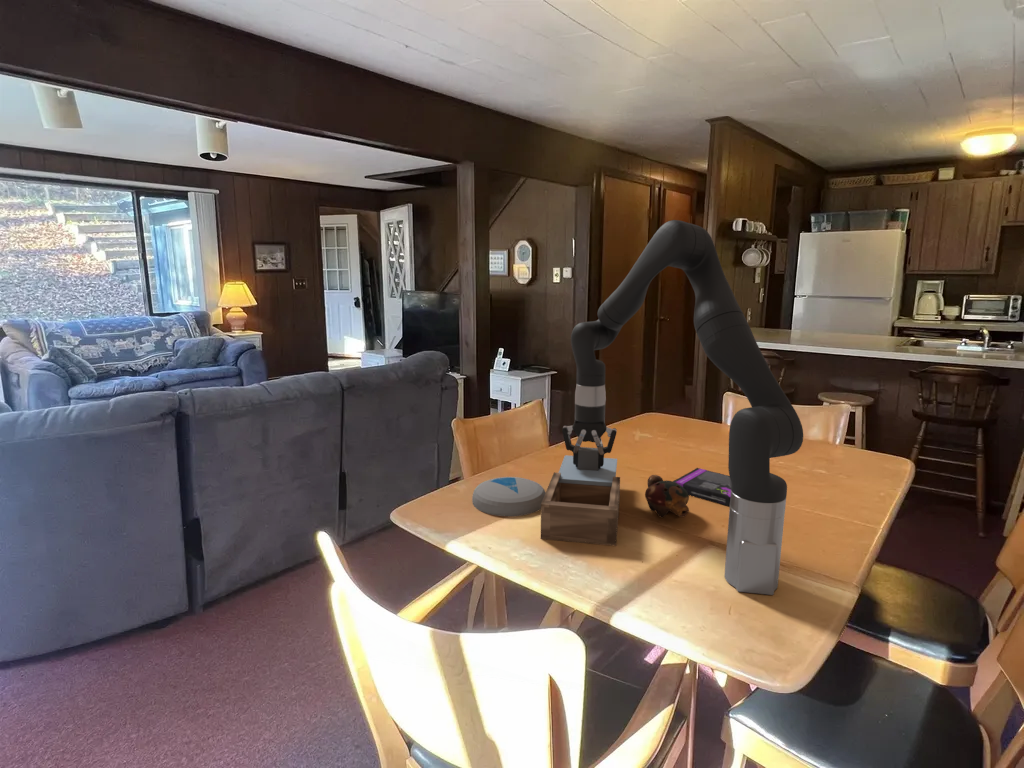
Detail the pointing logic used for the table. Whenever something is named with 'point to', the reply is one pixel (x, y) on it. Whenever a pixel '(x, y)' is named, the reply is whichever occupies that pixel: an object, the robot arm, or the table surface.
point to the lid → (588, 469)
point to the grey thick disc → (508, 496)
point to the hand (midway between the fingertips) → (588, 466)
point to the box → (707, 485)
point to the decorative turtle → (666, 497)
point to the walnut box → (580, 512)
